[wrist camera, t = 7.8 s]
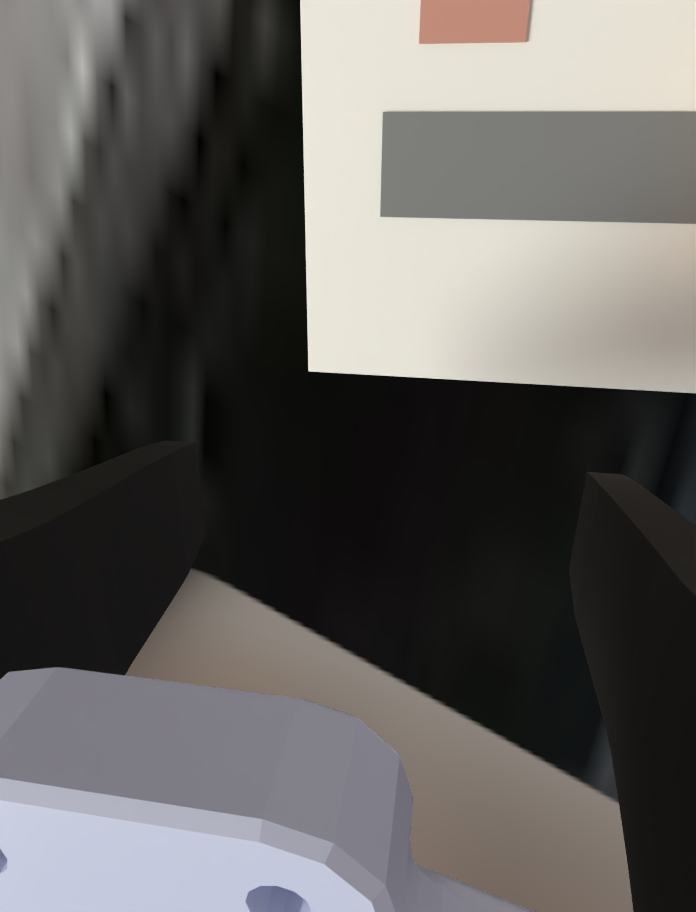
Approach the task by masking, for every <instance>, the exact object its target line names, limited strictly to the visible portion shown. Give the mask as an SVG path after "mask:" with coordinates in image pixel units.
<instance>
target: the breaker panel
mask: <svg viewBox="0 0 696 912" xmlns="http://www.w3.org/2000/svg"><path fill="white" fill-rule="evenodd" d="M300 9H301V54H302V99H303V143H304V188H305V233H306V278H307V323H308V368H309V371H313V372H331V373H348V374H366V375H384V376H401V377H419V378H437V379H454V380H472V381H489V382H507V383H525V384H542V385H560V386H578V387H595V388H613V389H631V390H648V391H666V392H683V393H696V0H300Z"/></svg>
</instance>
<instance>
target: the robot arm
mask: <svg viewBox="0 0 696 912" xmlns="http://www.w3.org/2000/svg"><path fill="white" fill-rule="evenodd" d="M204 536H205V527H204V518H203V508H202V499H201V489H200V479H199V470H198V460H197V451H196V443H191V442H177V441H162V442H157V443H154V444H150V445H147V446H145V447H142V448H139V449H136V450H134V451H131V452H128V453H126V454H123V455H121V456H118V457H116V458H113V459H111V460H108V461H106V462H104V463H101V464H99V465H96V466H94V467H91V468H89V469H86V470H84V471H81V472H79V473H76V474H73V475H71V476H68V477H65V478H63V479H60V480H57V481H54V482H52V483H49V484H46V485H43V486H41V487H38V488H35V489H33V490H30V491H27V492H24V493H21V494H18V495H15V496H11V497H8V498H5V499H2V500H0V912H535V911H533V910H530V909H528V908H525V907H523V906H520V905H518V904H515V903H513V902H510V901H508V900H505V899H503V898H500V897H498V896H495V895H493V894H490V893H488V892H485V891H483V890H480V889H478V888H475V887H473V886H470V885H468V884H465V883H463V882H460V881H458V880H455V879H453V878H450V877H448V876H445V875H443V874H440V873H438V872H435V871H433V870H430V869H428V868H425V867H423V866H420V865H418V864H415V862H414V860H413V858H412V851H411V844H410V832H411V818H412V804H413V796H412V793H411V789H410V786H409V783H408V780H407V776H406V773H405V770H404V767H403V763H402V760H401V757H400V755H399V754H398V753H397V752H396V751H395V750H394V749H392V748H391V747H390V746H389V745H388V744H387V743H386V742H384V741H383V740H382V739H381V738H380V737H379V736H378V735H376V734H375V733H374V732H373V731H372V730H370V728H369V727H367V726H366V725H365V724H364V723H363V722H362V721H361V720H359V719H358V718H357V717H355V716H353V715H350V714H347V713H344V712H341V711H338V710H335V709H332V708H329V707H326V706H323V705H320V704H317V703H314V702H311V701H308V700H305V699H302V698H295V697H287V696H279V695H271V694H264V693H255V692H248V691H241V690H233V689H225V688H217V687H210V686H201V685H194V684H187V683H178V682H170V681H163V680H155V679H147V678H140V677H132V676H125V674H126V672H127V671H128V669H129V667H130V666H131V664H132V662H133V660H134V659H135V657H136V656H137V654H138V653H139V651H140V650H141V648H142V647H143V645H144V643H145V642H146V640H147V639H148V637H149V635H150V634H151V633H152V631H153V629H154V628H155V626H156V625H157V623H158V622H159V620H160V619H161V617H162V615H163V614H164V612H165V611H166V609H167V608H168V606H169V604H170V603H171V601H172V600H173V598H174V596H175V595H176V593H177V592H178V590H179V588H180V587H181V585H182V584H183V582H184V580H185V579H186V577H187V575H188V573H189V571H190V569H191V567H192V564H193V562H194V560H195V558H196V556H197V553H198V551H199V548H200V546H201V543H202V541H203V539H204ZM569 570H570V579H571V588H572V597H573V604H574V612H575V618H576V621H577V625H578V629H579V633H580V637H581V640H582V644H583V648H584V651H585V655H586V658H587V662H588V666H589V669H590V673H591V676H592V680H593V683H594V687H595V691H596V694H597V698H598V701H599V705H600V708H601V712H602V716H603V719H604V723H605V727H606V731H607V736H608V740H609V745H610V749H611V755H612V762H613V768H614V774H615V780H616V787H617V793H618V799H619V805H620V813H621V820H622V826H623V834H624V841H625V848H626V855H627V862H628V870H629V878H630V886H631V894H632V902H633V911H634V912H696V525H694V524H693V523H692V522H690V521H689V520H687V519H686V518H685V517H683V516H682V515H680V514H679V513H678V512H676V511H675V510H674V509H672V508H671V507H669V506H668V505H667V504H665V503H664V502H663V501H661V500H660V499H659V498H657V497H656V496H655V495H653V494H652V493H650V492H649V491H648V490H646V489H645V488H644V487H642V486H641V485H639V484H638V483H636V482H635V481H633V480H632V479H630V478H629V477H627V476H625V475H621V474H607V473H594V472H587V474H586V480H585V485H584V491H583V496H582V502H581V507H580V513H579V519H578V524H577V530H576V535H575V541H574V546H573V552H572V557H571V563H570V568H569Z"/></svg>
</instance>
